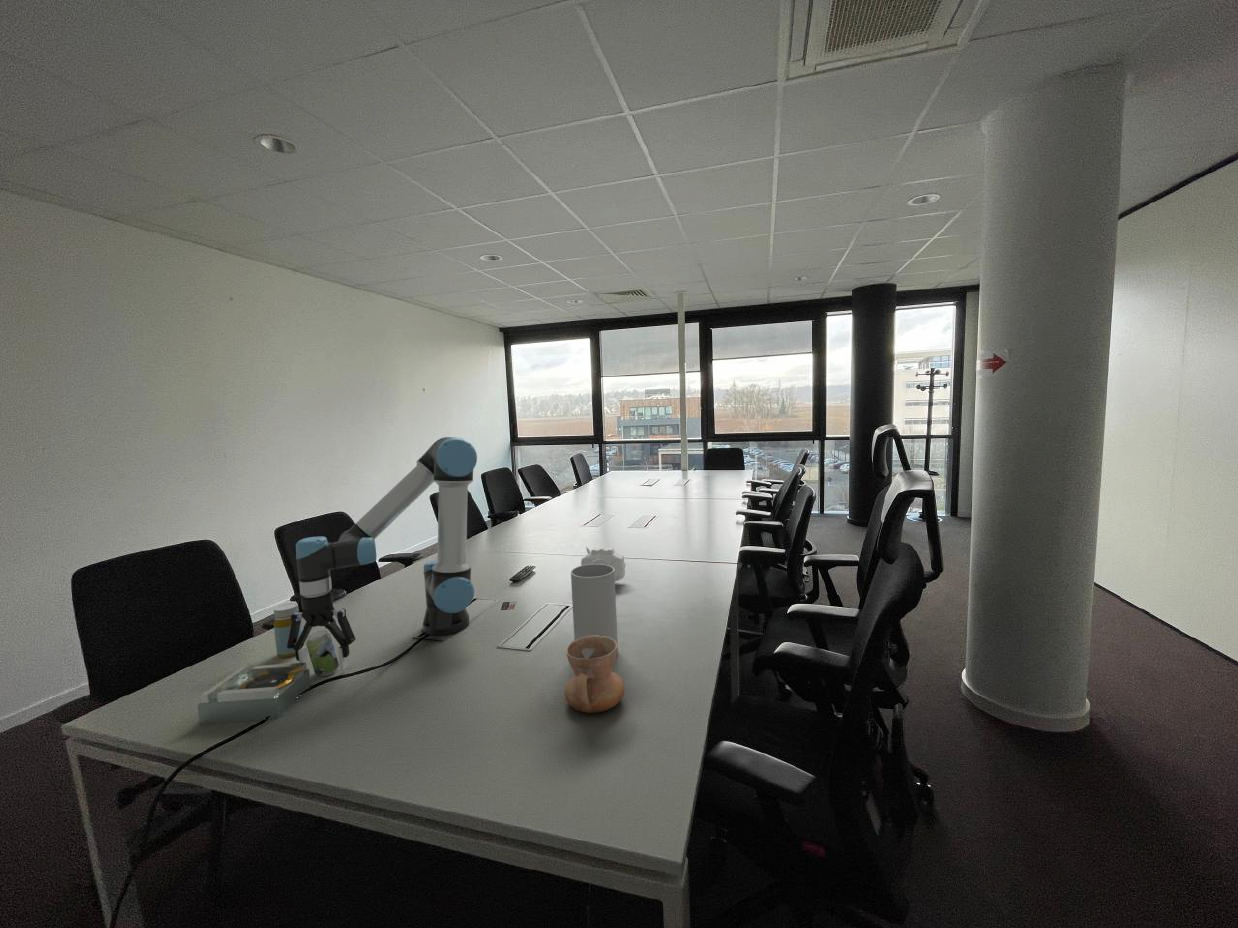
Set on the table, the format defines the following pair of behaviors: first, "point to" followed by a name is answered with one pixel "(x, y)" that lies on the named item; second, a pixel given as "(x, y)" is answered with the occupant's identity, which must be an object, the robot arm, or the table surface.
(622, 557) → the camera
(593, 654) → the ceramic jug
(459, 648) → the table surface
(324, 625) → the robot arm
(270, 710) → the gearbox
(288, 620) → the bottle
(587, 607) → the cylinder vase
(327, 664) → the beverage can
